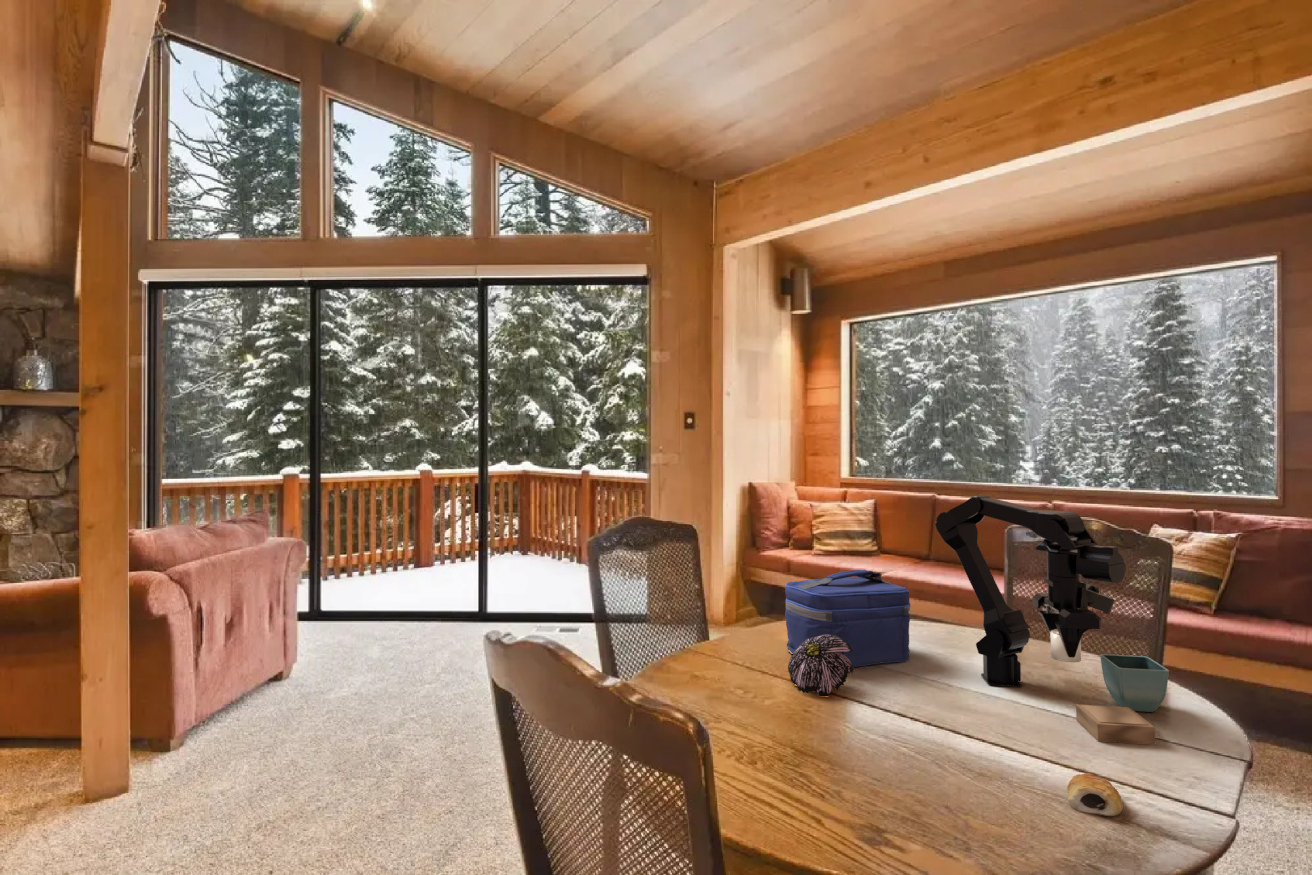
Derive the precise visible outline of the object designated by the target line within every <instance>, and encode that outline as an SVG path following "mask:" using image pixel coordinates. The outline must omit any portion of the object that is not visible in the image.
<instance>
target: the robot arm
mask: <svg viewBox="0 0 1312 875" xmlns="http://www.w3.org/2000/svg"><path fill="white" fill-rule="evenodd" d="M985 517H988V518H992V519H996V520H1000V521H1003V522H1006V523H1010V524H1013V525H1016V526H1020V527H1024V528H1026V529H1029V530H1031V531H1032V532H1033V533H1034V535H1036V536H1038V537H1041V538H1043V540H1042V542H1040V543H1039V544H1038V545H1037V546H1035V550H1036V551H1043V552H1046V572H1047V573H1046V574H1047V577H1043V583H1044V584H1046V585H1047V592H1036V593H1035V594H1034V595H1033V596H1032V607H1034V608H1035V609H1041V607H1042V609H1041V610H1038V614H1039V615H1040V617H1041V618H1042V621H1043V623H1044V624H1045V627H1046V629H1047V631H1048V633H1049V634H1050V631H1052V630H1054V629H1058V632H1059V635H1060V637H1061V640H1062V643H1063V645H1064V648H1065V650H1066V653H1067V655H1068V657H1075V655H1076V652H1077V649H1078V646H1079V643H1080V640H1081V641H1082V638H1083V635H1084V633H1085V632H1087V631H1088V630H1101V629H1102V618H1101V617H1100V616H1099V615H1098V614H1097V613H1095V612H1093V611H1092V610H1090V609H1089V608H1092V609H1094V610H1097V611H1101V612H1102V613H1104V614H1106V615H1111V612H1112V609H1113V607H1114V603H1115V601H1116V600H1115V599H1114V598H1112V597H1111V596H1108V595H1106V594H1103V593H1101V592H1100V589H1099V587H1097V586H1095V585H1092V584H1089V583H1087V584H1086V583H1085V582H1084V581H1082V580H1081V577H1083V579H1088V580H1093V581H1099V582H1100V581H1101V582H1107V583H1112V584H1120V583H1121V582H1122V581H1123V580H1124V578H1125V575H1126V569H1127V568H1126V567H1127V566H1126V562H1125V561H1124V557H1123V556H1122V555H1121V554H1120V552H1119V547H1118V546H1114V545H1110V546H1109V545H1108V546H1104V545H1099V544H1098V542H1097V540H1095V539H1094V537H1093V536H1092V534H1091V533H1090V532H1089V530H1088V529H1087V528H1086V527H1085V523H1084V521H1083V519H1082V517H1081V515H1080V514H1078V513H1076V512H1074V511H1065V510H1050V509H1049V510H1046V509H1036V508H1032V507H1028V506H1025V505H1021V504H1018V503H1014V502H1013V503H1012V502H1009V501H1006V500H1001V499H997V498H993V497H992V496H989V495H987V494H986V495H982V494H981V495H974V496H971V497H970V498H969V499H968V500H966V501H964V502H962V503H961V504H959V505H957V506H954V507H953V508H950V509H949V510H948V511H943V512H941V513H939V514H938V515H937V517H936V520H935V521H934V526H935V529H936V531H937V533H938V534H939V536H940V537H941V539H942V540H943V542H944V543H945V544H946V545H948V546H949V547H950V548H951V549H952V550H953V551H954V552H955V554H956V555H957V557H958V560H959V562H960V563H961V566H962V569H963V570H964V573H965V575H966V576H967V579H968V581H969V584H970V585H971V587H972V589H973V592H974V593H975V594H974V595H975V597H976V598H977V600H978V603H979V604H980V606H981V609H982V610H983V623H982V624H983V628H984V631H985V635H984V636H983V637H982V638H981V639H980V640H979V641H977V642H976V643H975V647H976V650H977V653H978V654H979V655H982V659H983V660H982V661H983V662H982V664H983V665H982V667H983V669H982V670H983V672H982V673H980V675H981V677H982V679H983V680H984V681H985V682H986V683H987V685H988V686H997V687H998V686H999V687H1020V688H1021V687H1022V684H1021V681H1022V677H1021V676H1022V672H1021V671H1022V670H1021V665H1022V664H1021V662H1020V661H1019V655H1017V654H1021V653H1023V650H1024V648H1025V646H1026V645H1027V644H1028V643H1029V641H1030V638H1031V633H1030V631H1029V629H1030V628H1031V626H1030V625H1029V624H1028V623H1027V622H1026V620H1025V617H1024V614H1023V612H1022V611H1021V610H1020V609H1016V610H1013V608H1011V607H1010V606H1009V605H1007V603H1006V601H1005V599H1004V597H1003V595H1002V593H1001V590H1000V589H999V587H998V584H997V582H996V580H995V578H994V576H993V574H992V572H991V570H990V568H989V566H988V564H987V562H986V559H985V558H984V555H983V553H982V552H981V549H980V547H979V544H978V534H979V531H978V527H977V525H978V524H979V523H981V522H982V521H983V520H984V519H985Z"/></svg>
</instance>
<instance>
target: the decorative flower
mask: <svg viewBox="0 0 1312 875" xmlns="http://www.w3.org/2000/svg"><path fill="white" fill-rule="evenodd" d="M851 651H853V650H852V649H851V647H850V644H849V643H847V641H846V640H844V639H843V638H841V637H839V636H837V635H832V634H826V635H821V636H818V637H812V638H808V639H806V640H805V641H804V642H803V643H802V644H801V645H800V646H799V648H798V649H797V650H796V651H795V652H794V653H793V655H792V654H791V656H790V658H789V661H788V665H787V670H788V673H789V677H790V682H791V683H792V684H793V683H794V684H796V685H797V691H798V690H799V691H798V692H802V693H803V694H805V693H807V694H808V693H809V692H810V693H813V692H815V694H818V697H819V696H829V697H830V696H831V695H832V692H833V688H834V689H836V690H837V691H838V690H839V689H840V687H841V686H844V685H845V682H847V680H846V679H847V678H848V676H849V674H853V672H854V667H853V665H852V663H851V661H850V660H849V659H848V658H847V657H846V655H845V654H843V653H842V652H851ZM794 684H793V685H794Z"/></svg>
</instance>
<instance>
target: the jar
mask: <svg viewBox="0 0 1312 875" xmlns="http://www.w3.org/2000/svg"><path fill="white" fill-rule="evenodd" d="M1049 634H1050V635H1049V636H1050V658H1052V659H1053V660H1055V661H1059V662H1064V663H1080V662H1081V661H1082V643H1081V642H1082V639H1081V640H1080V643H1079V646H1078V649H1077V652H1076V655H1075V657H1068V655H1067V653H1066V650H1065V648H1064V645H1063V643H1062V640H1061V637H1060V635H1059V632H1058V629H1054V630H1052V631H1050V633H1049Z"/></svg>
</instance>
